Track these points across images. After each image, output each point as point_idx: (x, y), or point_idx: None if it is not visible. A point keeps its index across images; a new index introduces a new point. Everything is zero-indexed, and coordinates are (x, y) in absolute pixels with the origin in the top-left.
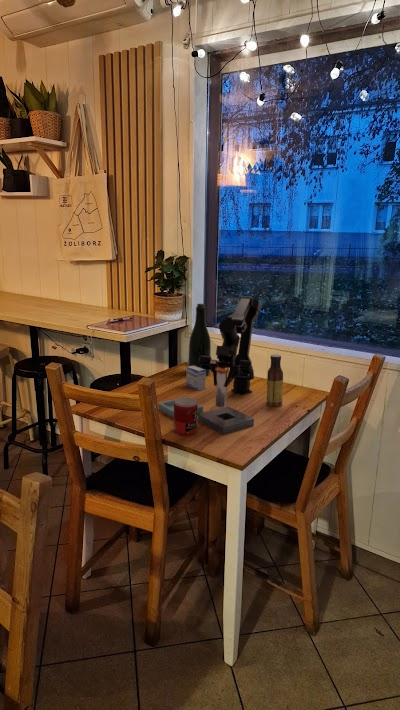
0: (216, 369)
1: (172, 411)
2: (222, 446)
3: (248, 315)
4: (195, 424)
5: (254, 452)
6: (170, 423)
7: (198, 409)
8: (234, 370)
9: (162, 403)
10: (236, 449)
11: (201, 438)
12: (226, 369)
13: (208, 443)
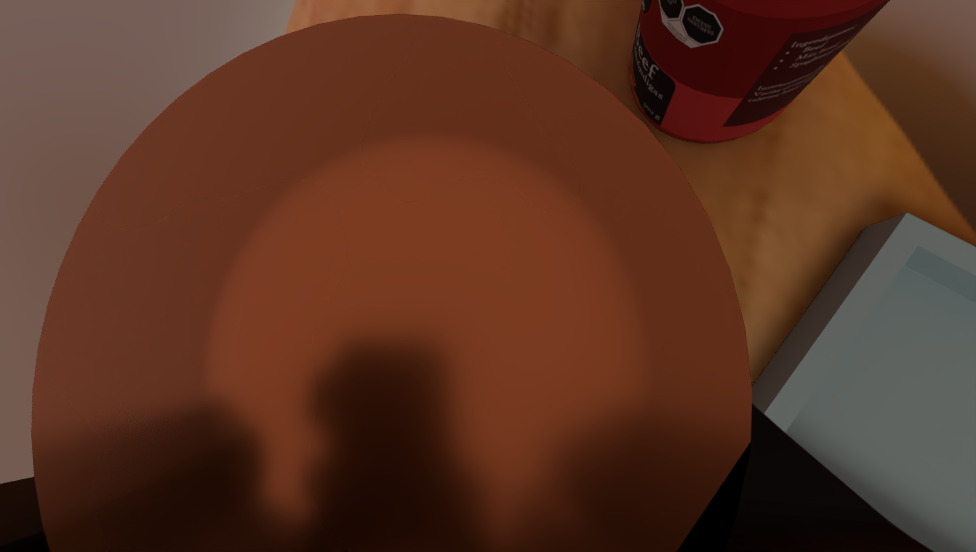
0: (579, 112)
1: (965, 244)
2: (438, 10)
3: None
4: (637, 25)
5: (290, 27)
6: (873, 151)
7: (758, 406)
8: (3, 485)
9: None
10: (369, 15)
11: (572, 41)
12: (122, 187)
13: (515, 6)
